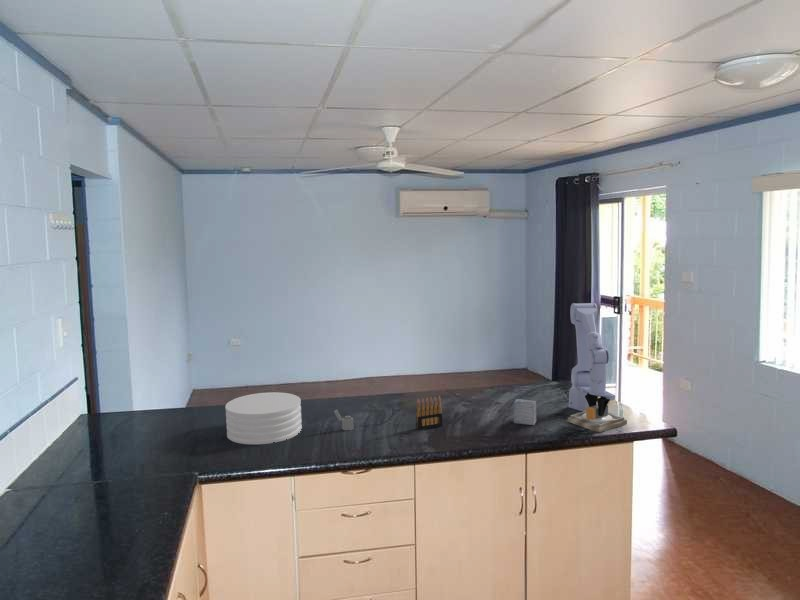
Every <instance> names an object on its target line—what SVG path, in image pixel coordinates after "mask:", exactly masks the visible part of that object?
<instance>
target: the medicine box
mask: <svg viewBox="0 0 800 600" xmlns="http://www.w3.org/2000/svg"><path fill="white" fill-rule="evenodd" d="M536 422H537V401H536V400H529V399H522V398H521V399H520V398H517V399H515V400H514V402H513V423H514V424H520V425H530V426H535V424H536Z"/></svg>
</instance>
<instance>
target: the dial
mask: <svg viewBox="0 0 800 600" xmlns="http://www.w3.org/2000/svg"><path fill="white" fill-rule="evenodd" d="M608 413H609V404H607V406H606V409H605V412H604V415H603V416H599V408H598V404H596V405H595V406H591V407H587V408H586V413H584V414H583V415H582V418H585V419H588V420H589V421H592V422H595V423H598V424H602V423H605V422H608V421H610V420H612V416H610V415H608Z"/></svg>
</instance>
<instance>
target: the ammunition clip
mask: <svg viewBox="0 0 800 600" xmlns="http://www.w3.org/2000/svg"><path fill="white" fill-rule="evenodd" d="M442 410H443V409H442V402H441V395H438V397H437V396H435V395H434V397H433V398H432V396H430V397H429V398H428V397H426V399H425V400H424V398H423V397H422V398H421V401H420V399H419V398H417V400H416V416H415V429H416V430H417V431H418V430H419V431H420V430H421V431H422V430H425V429H433V428H438V427H443V426H444V425H443V413H442Z"/></svg>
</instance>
